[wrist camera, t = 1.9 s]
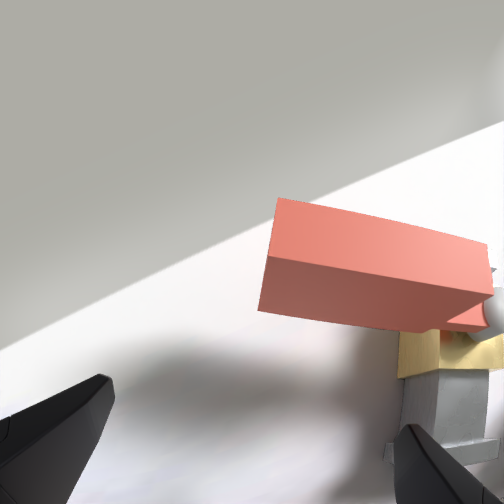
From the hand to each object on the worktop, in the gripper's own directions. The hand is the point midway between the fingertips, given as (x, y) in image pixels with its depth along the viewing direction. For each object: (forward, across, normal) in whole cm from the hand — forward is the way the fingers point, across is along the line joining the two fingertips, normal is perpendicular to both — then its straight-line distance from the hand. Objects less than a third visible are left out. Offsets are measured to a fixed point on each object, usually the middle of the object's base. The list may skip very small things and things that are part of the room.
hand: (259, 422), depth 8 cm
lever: (+7, -6, -1) cm, 9 cm away
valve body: (+9, -11, +4) cm, 15 cm away
